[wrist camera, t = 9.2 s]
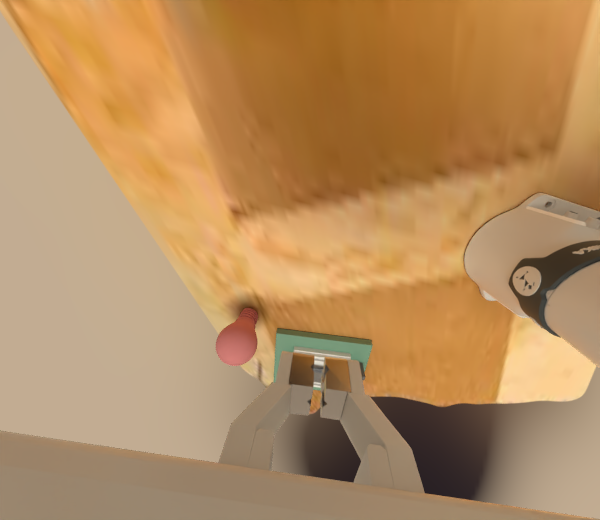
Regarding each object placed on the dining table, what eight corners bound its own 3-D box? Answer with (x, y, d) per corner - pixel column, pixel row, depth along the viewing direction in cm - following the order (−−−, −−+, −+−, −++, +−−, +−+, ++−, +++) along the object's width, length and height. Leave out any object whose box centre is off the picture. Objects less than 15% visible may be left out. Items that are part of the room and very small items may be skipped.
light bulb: (242, 329, 52) (221, 377, 41) (227, 304, 49) (201, 348, 38) (271, 323, 50) (258, 371, 39) (258, 296, 47) (239, 340, 37)
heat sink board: (371, 340, 50) (375, 359, 45) (356, 389, 57) (359, 410, 52) (277, 328, 51) (273, 345, 46) (274, 378, 58) (270, 398, 53)
